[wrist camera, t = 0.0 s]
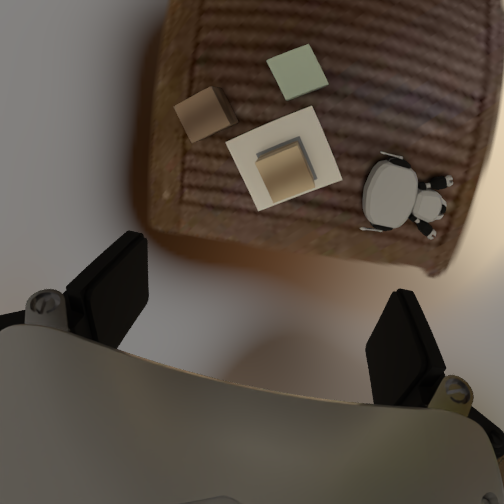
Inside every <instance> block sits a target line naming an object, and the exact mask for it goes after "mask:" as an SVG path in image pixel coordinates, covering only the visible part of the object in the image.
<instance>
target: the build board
mask: <svg viewBox="0 0 504 504" xmlns="http://www.w3.org/2000/svg"><path fill="white" fill-rule="evenodd" d="M297 140H298V142H299V144H300V147H301V149H302V151H303V154H304V156H305V158H306V161H307V163H308V165H309V168H310V170H311V173H312V175H313V178H314V183H315V188H312V189H310V190H307V191H304V192H302V193H299V194H296V195H294V196H291V197H288V198H286V199H283V200H281V201H278V202H275V203H273V201H272V199H271V197H270V195H269V192H268V190H267V188H266V186H265V184H264V182H263V179H262V177H261V175H260V173H259V171H258V169H257V167H256V165H255V162H256V161H257V159H258V158H259V157H260V155H263V154H265V153H268V152H270V151H272V150H275V149H277V148H280V147H282V146H285V145H287V144H290V143H292V142H295V141H297ZM225 143H226V145H227V147H228V149H229V151H230V153H231V155H232V157H233V159H234V161H235V163H236V165H237V167H238V170H239V172H240V174H241V176H242V178H243V180H244V182H245V184H246V186H247V188H248V190H249V192H250V194H251V196H252V199H253V201H254V203H255V205H256V207H257V209H258V211H260V210H263V209H266V208H268V207H271V206H273V205H276V204H279V203H281V202H284V201H286V200H289V199H292V198H294V197H297V196H300V195H302V194H305V193H308V192H310V191H313V190H316V189H319V188H321V187H324V186H327V185H330V184H332V183H335V182H338V181H341V180H342V177H341V175H340V172H339V169H338V167H337V164H336V162H335V159H334V157H333V154H332V151H331V149H330V147H329V144H328V142H327V139H326V137H325V134H324V132H323V130H322V127H321V125H320V123H319V120H318V118H317V116H316V114H315V111H314V109H313V107H312V106H310V107H307V108H305V109H302V110H299V111H297V112H294V113H292V114H289V115H287V116H284V117H282V118H279V119H277V120H274V121H272V122H270V123H267V124H265V125H263V126H260V127H258V128H256V129H253V130H251V131H249V132H247V133H245V134H242V135H240V136H238V137H236V138H234V139H231V140H229V141H227V142H225Z"/></svg>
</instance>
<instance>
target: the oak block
mask: <svg viewBox="0 0 504 504" xmlns="http://www.w3.org/2000/svg"><path fill="white" fill-rule="evenodd" d="M255 165H256V167H257V169H258V171H259V173H260V175H261V177H262V179H263V182H264V184H265V186H266V188H267V190H268V192H269V195H270V197H271V199H272V201H273V203H275V202H278V201H281V200H283V199H286V198H288V197H291V196H294V195H296V194H299V193H302V192H304V191H307V190H310V189H312V188H315V183H314V178H313V175H312V173H311V170H310V168H309V165H308V163H307V161H306V158H305V156H304V154H303V151H302V149H301V147H300V144H299V142H298V140H297V141H295V142H292V143H290V144H287V145H285V146H282V147H280V148H277V149H275V150H272V151H270V152H268V153H265V154H263V155H260V157H259V158H258V159H257V161H256V162H255Z"/></svg>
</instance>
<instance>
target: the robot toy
mask: <svg viewBox="0 0 504 504" xmlns="http://www.w3.org/2000/svg"><path fill="white" fill-rule="evenodd" d="M380 153H382V154H386V155H390V156H394V157H388V158H387V160H383V161H379V162H378V163H377V164H376V165H375V166H374V167H373V168H372V170H371V172H370V174H369V176H368V178H367V181H366V183H365V185H364V191H363V211H364V214H365V216H366V218H367V219H368V220H369V221H370V223H371V225H372V226H373V227H374V228H376V229H372V228H364V227H361V228H360V229H361V230H374V231H378V232H382V231H388V230H392V229H393V228H397V227H400V226H401V225H402V224H404V223H405V221H406V220H407V219H408V218H409V219H410V220H411V221H412V222H414V221H415V222H416V223H417V226H418V229H419V230H420V231H421V232H422V233H423V234H424V235H425V236H427V238H429V239H433V238H434V237H433V236H432V234H433V235H434V236H436V232H435V230H434V229H433V228H432V227H431V226H430V225H429V224H428V223H427V222H432V221H434V220H437V219H441V218H442V217H443V216H444V215H443V214H442V213H445V211H446V201H444V200H443V199H442V197H441V195H440V194H439V193H437V192H436V191H434V190H433V189H437V190H439V189H444V188H447V186H448V187H449V186H451V185H452V184H453V181H449V180H453V178H452V177H451V176H446V177H444V176H440V177H435V178H432V179H431V180H430V182H429V183H425V182H418V179H417V176H416V173H415V172H414V171H413V170H412V169H411V165H410V164H409V163H408V162H407V161H405V160H404V159H403V157H402V156H399V155H398V156H396V155H392V154H388V153H385V152H382V151H381V152H380ZM432 188H433V189H432ZM418 218H419V219H418ZM420 219H421V220H420Z"/></svg>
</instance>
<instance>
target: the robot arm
mask: <svg viewBox="0 0 504 504" xmlns="http://www.w3.org/2000/svg"><path fill="white" fill-rule="evenodd" d="M66 289H67V290H66V291H65V292H64V293H63V294H62V293H61V292H59V291H57V290H54V289H44V290H41V291H38V292H36V293H34V294H33V295H32V296H31V297H30V298H29V299H28V300H27V303H26V308H25V310H22V311H18V312H13V313H9V314H4V315H0V504H504V433H503V431H502V430H501V429H500V428H498V427H497V426H496V425H495V424H493V423H492V422H491V421H490V420H488V419H487V418H486V417H485V416H483V415H482V414H481V413H480V412H478V411H477V410H476V409H475V408H473V407H472V403H473V399H474V395H473V391H472V389H471V387H470V386H469V384H468V383H467V382H466V381H465V380H464V379H462V378H460V377H459V376H455V375H448V376H445V374H444V371H445V369H446V366H445V363H444V361H443V358H442V355H441V353H440V351H439V348H438V346H437V343H436V341H435V338H434V336H433V334H432V332H431V329H430V327H429V325H428V322H427V320H426V318H425V315H424V313H423V311H422V309H421V307H420V305H419V303H418V301H417V298H416V296H415V294H414V292H413V291H409V290H405V289H398V290H397V291H396V292H393V293H392V294H391V296H390V298H389V300H388V302H387V304H386V306H385V308H384V310H383V313H382V315H381V317H380V319H379V321H378V323H377V324H376V326H375V328H374V330H373V332H372V334H371V336H370V338H369V340H368V342H367V344H366V349H365V351H366V357H367V363H368V369H369V375H370V381H371V388H372V395H373V402H374V404H367V403H366V404H365V403H356V402H345V401H337V400H329V399H321V398H314V397H307V396H301V395H295V394H289V393H283V392H277V391H272V390H266V389H261V388H256V387H252V386H247V385H242V384H238V383H233V382H229V381H224V380H220V379H216V378H212V377H208V376H204V375H200V374H196V373H193V372H189V371H185V370H181V369H178V368H175V367H171V366H167V365H164V364H161V363H158V362H154V361H151V360H148V359H145V358H142V357H139V356H136V355H133V354H130V353H127V352H124V351H121V350H118V349H117V348H118V346H119V345H120V343H121V342H122V340H123V338H124V337H125V335H126V334H127V332H128V331H129V329H130V328H131V326H132V325H133V323H134V322H135V320H136V319H137V317H138V316H139V314H140V313H141V312H142V310H143V309H144V307H145V306H146V304H147V302H148V297H149V290H148V251H147V239H146V238H144V236H143V234H142V233H138V232H134V231H127V232H126V233H124V234H123V235H122V236H121V237H120V238H119V239H117V240H116V241H115V242H114V243H113V244H112V245H111V246H110V247H109V248H107V249H106V250H105V251H104V252H103V253H102V254H100V256H98V257H97V258H96V259H95V260H94V261H93V262H92V263H91V264H90V265H88V266H87V267H86V268H85V269H84V270H83V271H82V272H81V273H80V274H79V275H78V276H77V277H76V278H75V279H74V280H73V281H72V282H70V283H69V284H68V285H67V286H66Z"/></svg>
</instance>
